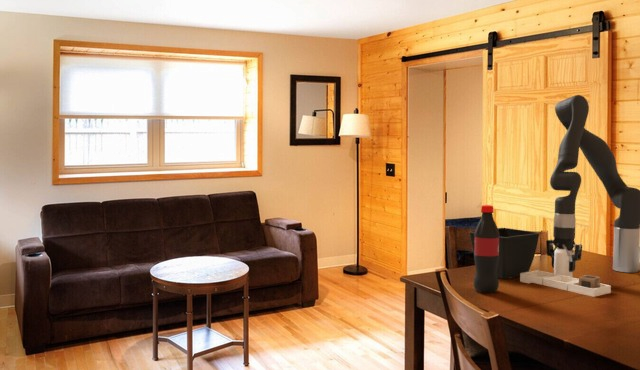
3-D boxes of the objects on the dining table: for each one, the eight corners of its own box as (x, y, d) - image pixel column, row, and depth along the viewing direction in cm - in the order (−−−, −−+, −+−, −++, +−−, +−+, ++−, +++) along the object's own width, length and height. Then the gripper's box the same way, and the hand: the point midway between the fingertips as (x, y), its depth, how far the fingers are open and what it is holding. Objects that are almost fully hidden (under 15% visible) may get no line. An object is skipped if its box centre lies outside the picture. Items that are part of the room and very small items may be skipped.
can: (573, 281, 226) (574, 249, 225) (555, 281, 227) (556, 249, 226) (570, 277, 232) (571, 246, 231) (552, 277, 233) (553, 246, 232)
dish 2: (560, 283, 224) (560, 274, 223) (583, 288, 215) (584, 279, 215) (543, 287, 218) (543, 278, 218) (566, 292, 210) (566, 283, 210)
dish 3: (584, 289, 215) (585, 280, 215) (610, 294, 207) (610, 285, 207) (567, 292, 210) (568, 283, 210) (593, 299, 202) (593, 289, 202)
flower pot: (467, 272, 242) (468, 230, 240) (502, 267, 251) (503, 226, 250) (503, 282, 225) (504, 237, 224) (539, 276, 235) (540, 233, 233)
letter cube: (585, 289, 212) (585, 274, 212) (599, 291, 208) (600, 276, 208) (578, 291, 209) (578, 276, 208) (593, 294, 205) (593, 279, 204)
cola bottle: (499, 289, 216) (500, 204, 213) (498, 295, 208) (499, 206, 205) (474, 287, 218) (475, 203, 216) (472, 293, 210) (473, 206, 208)
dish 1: (537, 278, 232) (537, 269, 232) (559, 283, 224) (559, 274, 224) (520, 281, 227) (520, 273, 226) (542, 286, 219) (542, 277, 218)
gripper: (541, 223, 232) (540, 267, 233) (575, 228, 220) (574, 274, 221) (554, 222, 236) (553, 265, 237) (588, 226, 224) (586, 272, 225)
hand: (563, 269), depth 229 cm, fingers closed on can, 6 cm apart
